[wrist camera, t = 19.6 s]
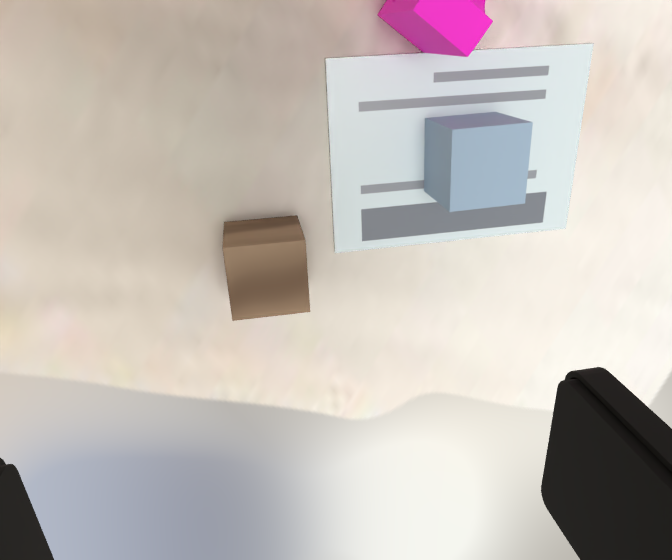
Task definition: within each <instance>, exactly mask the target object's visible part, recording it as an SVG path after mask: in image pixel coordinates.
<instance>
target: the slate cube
mask: <svg viewBox="0 0 672 560" xmlns="http://www.w3.org/2000/svg"><path fill="white" fill-rule="evenodd" d="M532 126H533V122H530V121H527V120H523V119H520V118H516V117H513V116H509V115H506V114H502V113H498V112H487V113H476V114H465V115H453V116H442V117H431V118H425V152H424V192H426V193H427V194H428V195H429V196H431V197H432V198H433V199H434V200H436V201H437V202H438V203H439V204H440V205H442V206H443V207H444V208H445V209H447V210H448V211H449V212H454V211H463V210H472V209H481V208H490V207H499V206H507V205H516V204H525V199H526V188H527V178H528V168H529V157H530V147H531V136H532Z"/></svg>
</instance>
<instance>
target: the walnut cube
mask: <svg viewBox="0 0 672 560" xmlns="http://www.w3.org/2000/svg"><path fill="white" fill-rule="evenodd" d="M223 255H224V262H225V269H226V276H227V284H228V291H229V298H230V305H231V312H232V320H233V321H234V320H243V319H252V318H260V317H269V316H278V315H286V314H295V313H304V312H310V303H309V288H308V273H307V258H306V243H305V238H304V235H303V232H302V229H301V226H300V223H299V220H298V217H297V216H287V217H276V218H265V219H254V220H242V221H231V222H224V233H223Z"/></svg>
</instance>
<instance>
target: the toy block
mask: <svg viewBox="0 0 672 560" xmlns="http://www.w3.org/2000/svg"><path fill="white" fill-rule="evenodd" d="M484 8H485V0H387V1H386V2H385V4H384V5H383V7H382V9H381V10H380V12H379V13H378V16H379V17H380V18H382V19H383V20H384V21H385V22H386V23H388V24H389V25H390V26H391V27H393V28H394V29H395V30H396V31H397V32H399V33H400V34H401V35H402V36H404V37H405V38H406V39H407V40H408V41H410V42H411V43H412V44H413V45H415V46H416V47H417V48H418V49H419V50H421V51H422V52H423V53H431V54H442V55H452V56H462V57H468V56H469V55H470V54H471V52H472V51H473V49H474V48H475V46H476V45H477V44H478V42H479V41H480V39H481V38H482V36H483V35H484V33H485V32H486V31H487V29H488V28H489V26H490V25H491V23H492V22H493V21H492V20H491V19H490V18H489V17H488V16H487V15H486V14H485V10H484Z"/></svg>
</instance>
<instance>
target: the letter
mask: <svg viewBox="0 0 672 560" xmlns="http://www.w3.org/2000/svg"><path fill="white" fill-rule="evenodd" d="M593 44H594V43H591V44H573V45H555V46H537V47H519V48H501V49H484V50H473V51H472V52H471V54H470V55H469V56H468V57H462V56H452V55H442V54H431V53H412V54H394V55H376V56H358V57H341V58H325V63H326V84H327V105H328V125H329V146H330V166H331V187H332V207H333V228H334V248H335V253H341V252H350V251H360V250H369V249H379V248H388V247H397V246H407V245H416V244H426V243H435V242H444V241H454V240H463V239H472V238H482V237H491V236H501V235H510V234H519V233H529V232H538V231H547V230H557V229H566V223H567V217H568V210H569V203H570V197H571V190H572V183H573V177H574V170H575V163H576V157H577V150H578V143H579V137H580V130H581V123H582V117H583V110H584V104H585V97H586V90H587V84H588V77H589V70H590V64H591V57H592V50H593ZM487 112H498V113H502V114H506V115H509V116H513V117H516V118H520V119H523V120H527V121H530V122H533V126H532V136H531V147H530V157H529V168H528V178H527V188H526V199H525V204H516V205H507V206H499V207H490V208H481V209H472V210H463V211H454V212H449V211H448V210H447V209H445V208H444V207H443V206H442V205H440V204H439V203H438V202H437V201H436V200H434V199H433V198H432V197H431V196H429V195H428V194H427V193H426V192H424V152H425V118H431V117H442V116H453V115H465V114H476V113H487Z"/></svg>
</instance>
